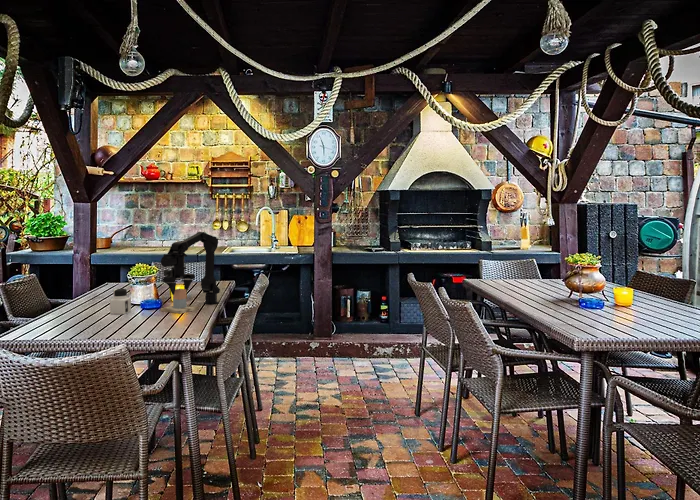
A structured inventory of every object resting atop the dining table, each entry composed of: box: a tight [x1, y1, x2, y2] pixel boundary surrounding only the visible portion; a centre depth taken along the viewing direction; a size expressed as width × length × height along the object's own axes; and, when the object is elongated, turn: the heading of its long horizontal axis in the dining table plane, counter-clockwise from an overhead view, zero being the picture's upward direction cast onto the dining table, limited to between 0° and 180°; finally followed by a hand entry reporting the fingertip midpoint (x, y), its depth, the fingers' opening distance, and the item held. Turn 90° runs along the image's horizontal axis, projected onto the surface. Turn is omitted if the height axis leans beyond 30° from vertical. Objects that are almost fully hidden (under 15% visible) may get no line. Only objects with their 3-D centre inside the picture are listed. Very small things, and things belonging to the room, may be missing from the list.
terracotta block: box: [172, 288, 187, 300], centre depth 300 cm, size 5×5×5 cm
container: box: [109, 288, 132, 315], centre depth 292 cm, size 8×8×13 cm
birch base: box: [160, 305, 200, 315], centre depth 301 cm, size 14×14×2 cm
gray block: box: [172, 298, 188, 309], centre depth 300 cm, size 5×5×5 cm
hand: (179, 293), depth 300 cm, fingers open, 9 cm apart
